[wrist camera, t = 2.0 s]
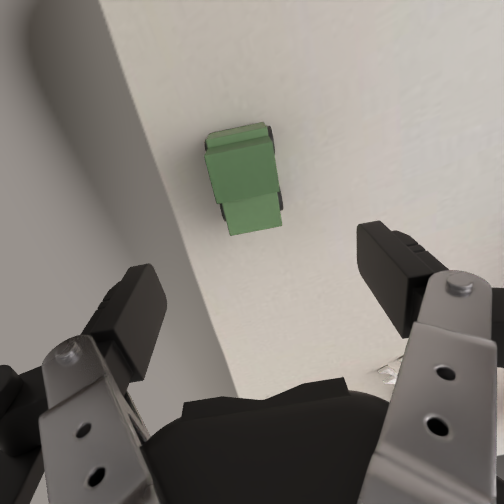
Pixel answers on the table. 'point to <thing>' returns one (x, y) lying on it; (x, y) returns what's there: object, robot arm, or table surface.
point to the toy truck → (245, 177)
